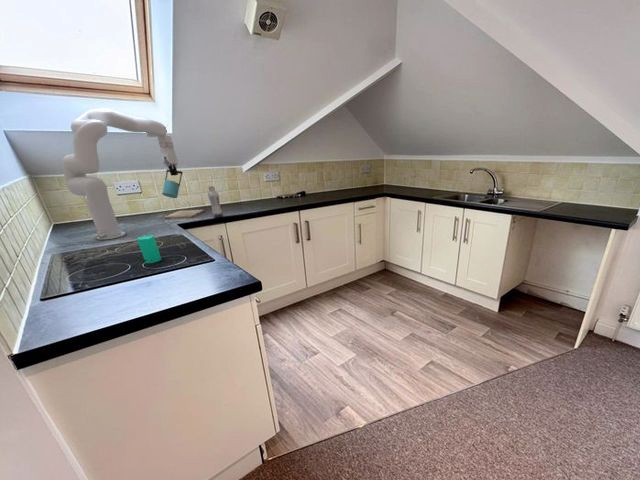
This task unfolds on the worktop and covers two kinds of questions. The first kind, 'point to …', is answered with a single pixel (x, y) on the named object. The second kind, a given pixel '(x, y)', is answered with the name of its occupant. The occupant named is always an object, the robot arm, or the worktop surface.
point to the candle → (149, 248)
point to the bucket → (171, 186)
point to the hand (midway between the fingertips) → (174, 175)
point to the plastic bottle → (215, 202)
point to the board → (184, 214)
